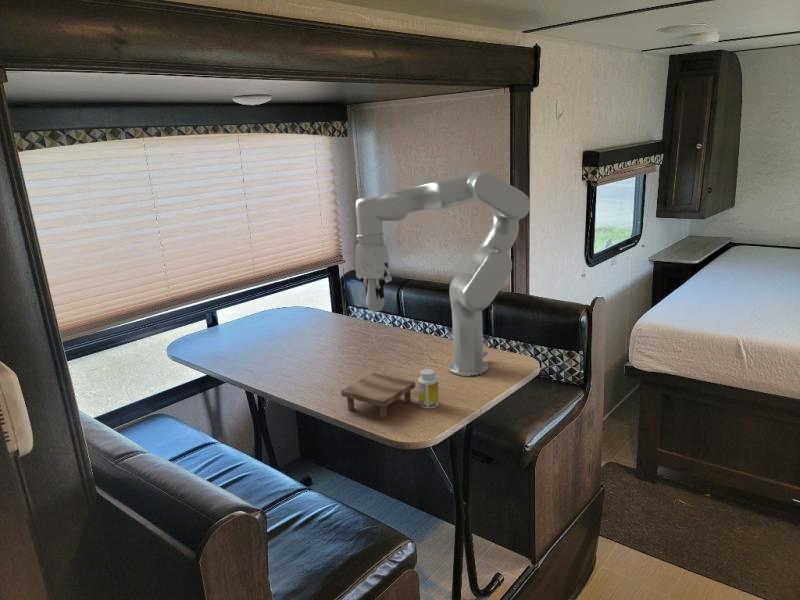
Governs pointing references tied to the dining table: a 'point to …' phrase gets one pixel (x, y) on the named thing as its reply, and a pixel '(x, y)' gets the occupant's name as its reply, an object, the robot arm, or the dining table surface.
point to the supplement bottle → (428, 389)
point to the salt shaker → (373, 297)
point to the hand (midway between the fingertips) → (375, 299)
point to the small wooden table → (378, 391)
